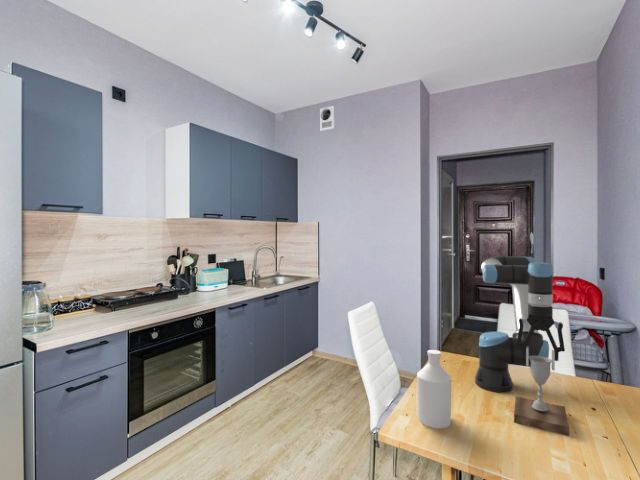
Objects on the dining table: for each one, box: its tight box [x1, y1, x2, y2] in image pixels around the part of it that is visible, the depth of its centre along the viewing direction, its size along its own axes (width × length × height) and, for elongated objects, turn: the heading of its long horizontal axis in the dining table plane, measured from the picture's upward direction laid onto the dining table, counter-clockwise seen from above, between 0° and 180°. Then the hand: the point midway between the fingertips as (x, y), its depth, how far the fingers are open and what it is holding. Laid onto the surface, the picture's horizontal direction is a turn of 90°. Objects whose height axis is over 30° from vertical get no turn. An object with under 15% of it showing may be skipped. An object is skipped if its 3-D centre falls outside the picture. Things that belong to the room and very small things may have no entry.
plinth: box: [513, 395, 570, 437], centre depth 124 cm, size 16×16×3 cm
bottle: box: [416, 349, 452, 430], centre depth 123 cm, size 12×12×25 cm
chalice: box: [529, 356, 552, 411], centre depth 124 cm, size 7×7×18 cm
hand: (540, 366), depth 124 cm, fingers closed on chalice, 7 cm apart
